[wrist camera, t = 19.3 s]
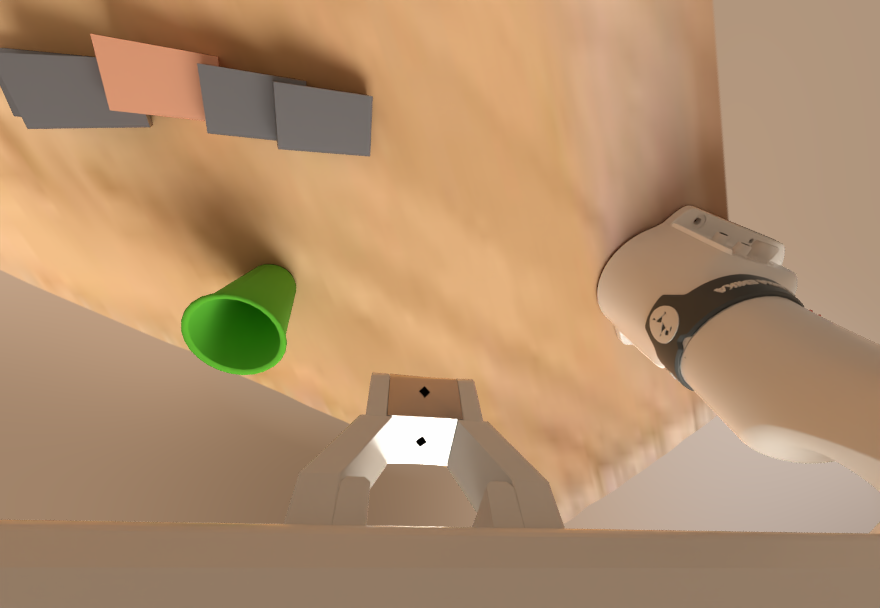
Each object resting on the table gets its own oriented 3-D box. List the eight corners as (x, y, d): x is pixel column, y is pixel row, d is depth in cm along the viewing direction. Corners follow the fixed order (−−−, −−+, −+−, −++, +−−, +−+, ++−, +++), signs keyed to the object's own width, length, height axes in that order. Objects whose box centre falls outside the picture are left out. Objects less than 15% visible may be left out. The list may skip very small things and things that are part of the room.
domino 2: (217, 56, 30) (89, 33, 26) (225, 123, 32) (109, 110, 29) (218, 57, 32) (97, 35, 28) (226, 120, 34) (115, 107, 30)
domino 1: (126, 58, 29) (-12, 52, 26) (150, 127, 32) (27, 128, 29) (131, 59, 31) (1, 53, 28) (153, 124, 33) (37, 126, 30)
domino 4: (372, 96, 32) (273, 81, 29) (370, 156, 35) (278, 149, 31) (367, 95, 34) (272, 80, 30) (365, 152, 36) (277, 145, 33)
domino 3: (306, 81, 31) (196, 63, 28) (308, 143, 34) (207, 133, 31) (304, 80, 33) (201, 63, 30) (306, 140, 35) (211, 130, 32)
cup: (240, 314, 44) (193, 374, 35) (225, 244, 40) (167, 291, 30) (316, 317, 45) (290, 377, 36) (310, 249, 41) (278, 296, 31)
